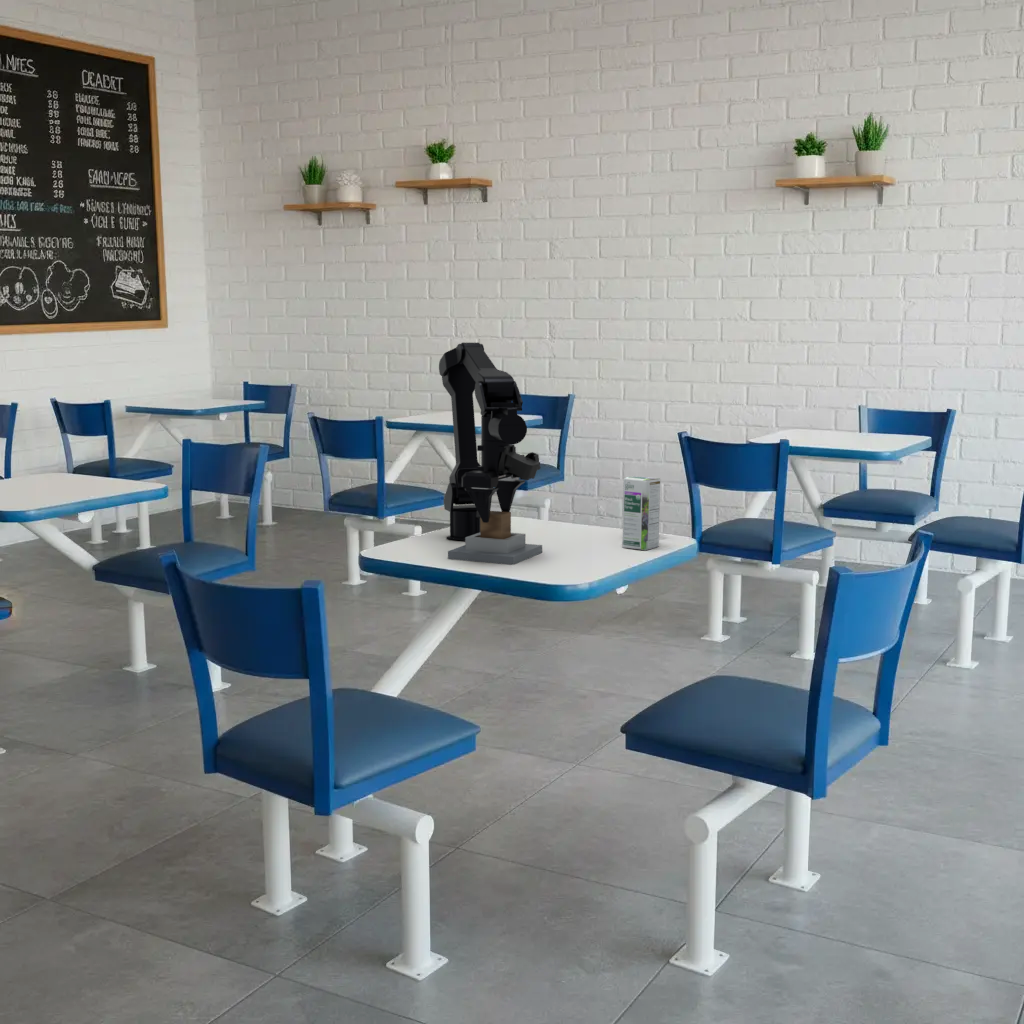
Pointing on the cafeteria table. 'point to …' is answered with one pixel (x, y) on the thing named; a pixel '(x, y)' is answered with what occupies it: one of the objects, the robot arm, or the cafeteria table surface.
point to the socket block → (495, 549)
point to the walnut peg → (496, 525)
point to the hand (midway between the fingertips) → (495, 519)
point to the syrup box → (641, 512)
